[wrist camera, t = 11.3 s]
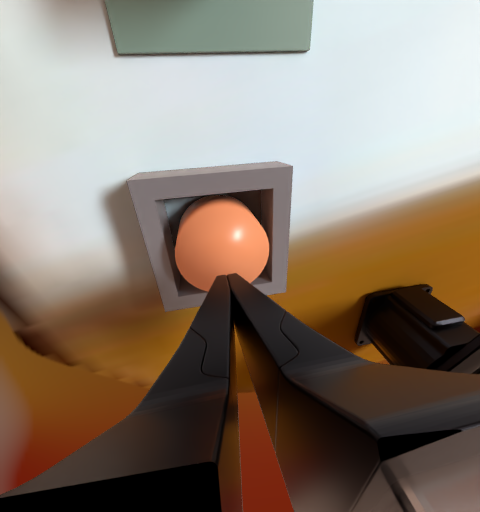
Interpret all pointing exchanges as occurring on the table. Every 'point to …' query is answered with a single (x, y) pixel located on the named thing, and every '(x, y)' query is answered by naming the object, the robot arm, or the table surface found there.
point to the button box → (206, 183)
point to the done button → (220, 241)
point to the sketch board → (210, 25)
